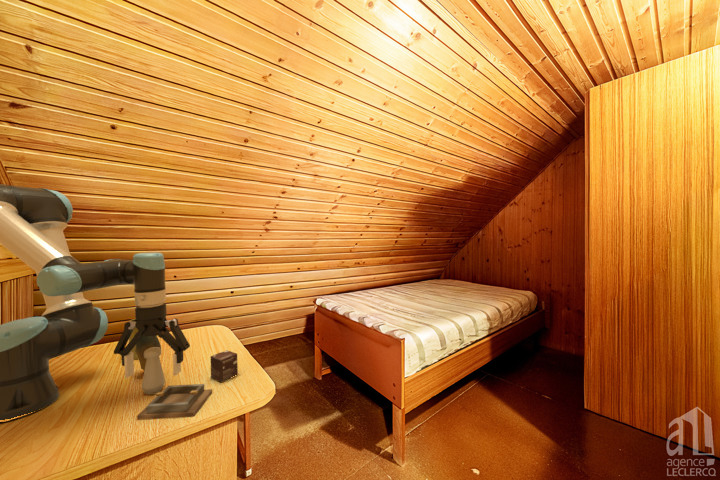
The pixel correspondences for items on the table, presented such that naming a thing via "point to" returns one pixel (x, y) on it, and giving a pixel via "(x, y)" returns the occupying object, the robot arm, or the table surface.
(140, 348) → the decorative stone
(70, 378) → the table surface
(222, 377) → the box
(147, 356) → the salt shaker
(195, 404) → the base
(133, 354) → the vase
